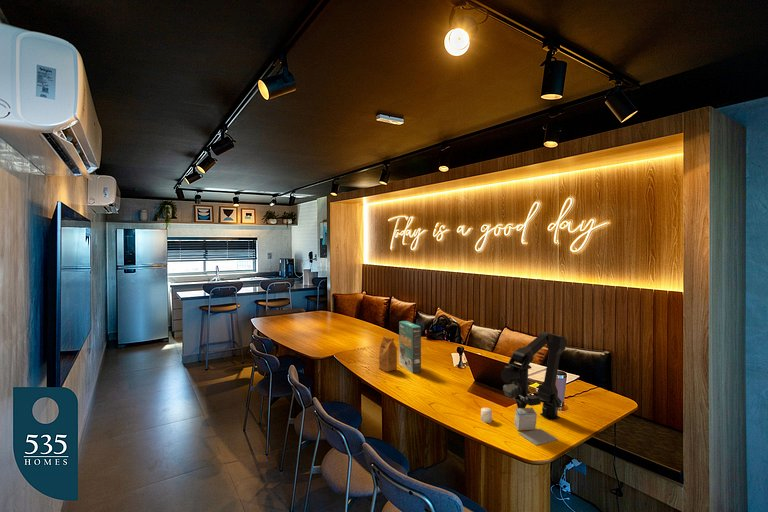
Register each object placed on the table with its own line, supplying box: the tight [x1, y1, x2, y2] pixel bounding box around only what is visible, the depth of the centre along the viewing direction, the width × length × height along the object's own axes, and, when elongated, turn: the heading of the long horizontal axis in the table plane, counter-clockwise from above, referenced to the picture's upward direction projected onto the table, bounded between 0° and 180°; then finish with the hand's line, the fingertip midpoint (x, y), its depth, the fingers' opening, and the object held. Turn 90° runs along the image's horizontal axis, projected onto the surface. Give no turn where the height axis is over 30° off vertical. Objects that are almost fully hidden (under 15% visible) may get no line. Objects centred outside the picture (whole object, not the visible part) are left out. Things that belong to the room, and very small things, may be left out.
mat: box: [518, 428, 559, 446], centre depth 157 cm, size 12×10×1 cm
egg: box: [480, 407, 493, 424], centre depth 173 cm, size 5×5×5 cm
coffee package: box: [378, 335, 398, 373], centre depth 247 cm, size 10×12×22 cm
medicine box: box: [514, 407, 538, 431], centre depth 164 cm, size 8×4×9 cm, turn 92°
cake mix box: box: [398, 320, 422, 374], centre depth 250 cm, size 22×6×30 cm, turn 22°
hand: (520, 412), depth 167 cm, fingers closed
